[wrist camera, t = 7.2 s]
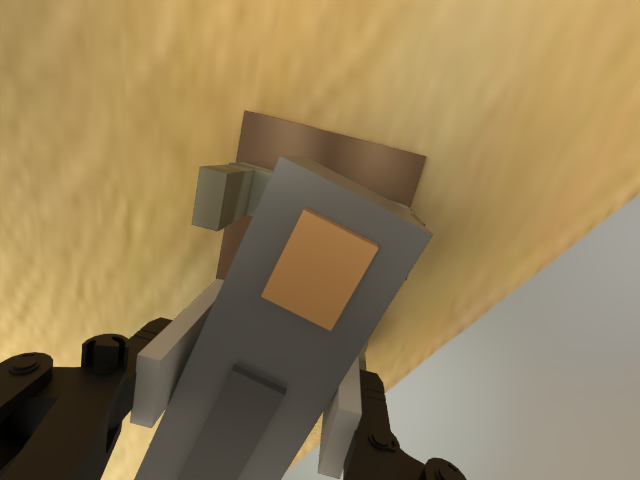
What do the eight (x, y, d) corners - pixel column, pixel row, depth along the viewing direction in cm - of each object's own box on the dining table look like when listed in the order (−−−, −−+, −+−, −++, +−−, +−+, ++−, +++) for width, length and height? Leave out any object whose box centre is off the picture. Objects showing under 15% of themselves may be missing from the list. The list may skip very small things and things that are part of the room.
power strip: (187, 406, 19) (109, 528, 13) (305, 156, 15) (276, 155, 9) (263, 443, 19) (223, 579, 13) (400, 205, 15) (437, 238, 9)
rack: (208, 345, 29) (150, 426, 20) (249, 112, 24) (193, 87, 15) (350, 382, 29) (351, 480, 20) (422, 156, 24) (467, 156, 15)
